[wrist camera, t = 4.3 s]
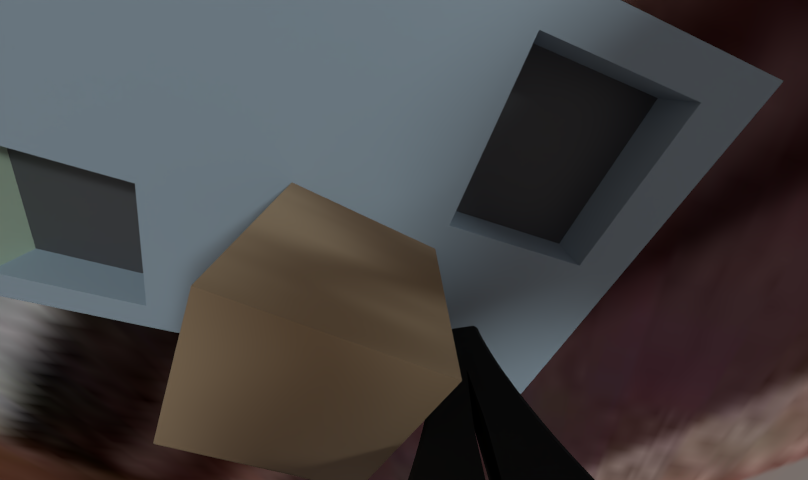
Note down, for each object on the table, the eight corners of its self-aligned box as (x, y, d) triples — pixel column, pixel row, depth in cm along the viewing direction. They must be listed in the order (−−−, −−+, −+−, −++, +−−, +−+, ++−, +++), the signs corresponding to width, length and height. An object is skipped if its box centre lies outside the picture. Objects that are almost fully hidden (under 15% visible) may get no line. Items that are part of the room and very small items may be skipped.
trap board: (720, 79, 8) (783, 81, 7) (502, 370, 14) (513, 402, 13) (-641, -567, 4) (-1144, -876, 3) (-156, 221, 10) (-244, 245, 9)
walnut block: (435, 248, 9) (462, 380, 5) (372, 341, 11) (357, 489, 7) (291, 182, 8) (190, 285, 4) (249, 298, 10) (153, 443, 6)
